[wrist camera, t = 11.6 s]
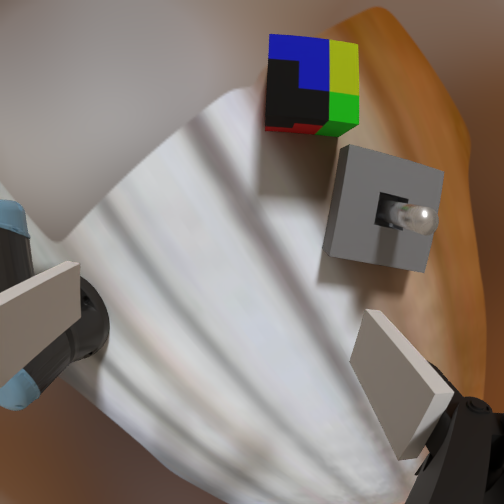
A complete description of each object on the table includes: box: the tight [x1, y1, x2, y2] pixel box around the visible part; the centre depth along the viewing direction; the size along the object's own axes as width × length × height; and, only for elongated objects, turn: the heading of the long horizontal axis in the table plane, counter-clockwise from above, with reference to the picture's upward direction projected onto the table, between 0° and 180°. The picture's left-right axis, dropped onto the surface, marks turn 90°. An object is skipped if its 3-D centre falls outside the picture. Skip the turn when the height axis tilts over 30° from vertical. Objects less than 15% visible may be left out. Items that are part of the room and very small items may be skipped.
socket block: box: [323, 144, 444, 273], centre depth 40 cm, size 14×14×5 cm
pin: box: [376, 199, 439, 236], centre depth 34 cm, size 3×3×13 cm
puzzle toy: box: [265, 34, 359, 137], centre depth 35 cm, size 10×10×10 cm
